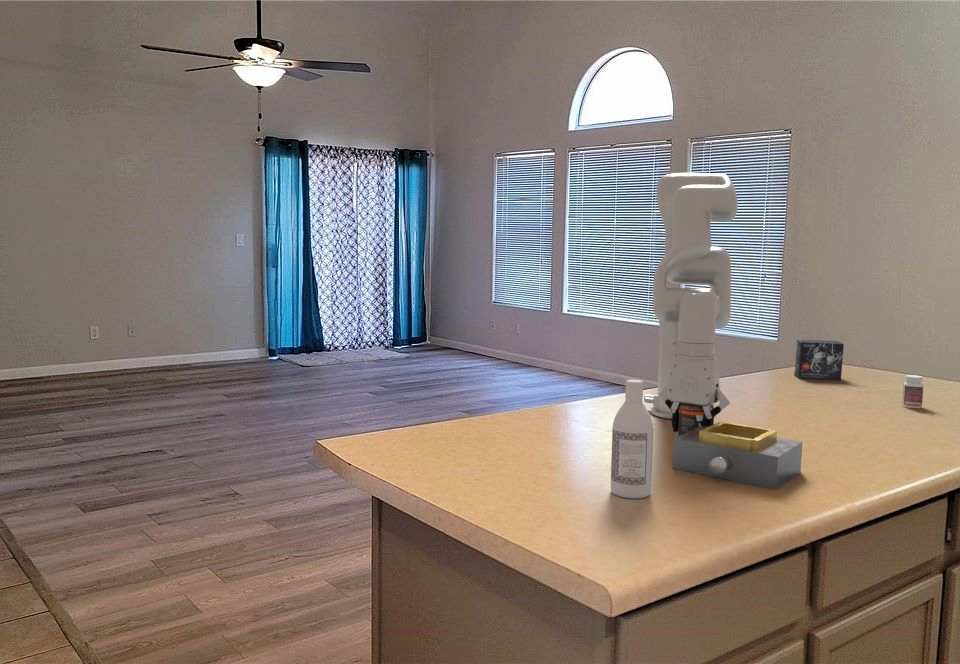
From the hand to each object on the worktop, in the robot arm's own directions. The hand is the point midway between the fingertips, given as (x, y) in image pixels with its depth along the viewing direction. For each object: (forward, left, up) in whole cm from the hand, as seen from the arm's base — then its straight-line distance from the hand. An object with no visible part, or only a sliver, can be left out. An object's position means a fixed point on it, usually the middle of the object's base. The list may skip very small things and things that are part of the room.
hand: (692, 432), depth 173 cm
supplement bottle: (0, 0, -3) cm, 3 cm away
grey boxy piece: (+14, -13, -3) cm, 19 cm away
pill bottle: (+28, +79, -3) cm, 84 cm away
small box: (-5, +109, -3) cm, 109 cm away
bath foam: (+5, -37, -3) cm, 37 cm away
